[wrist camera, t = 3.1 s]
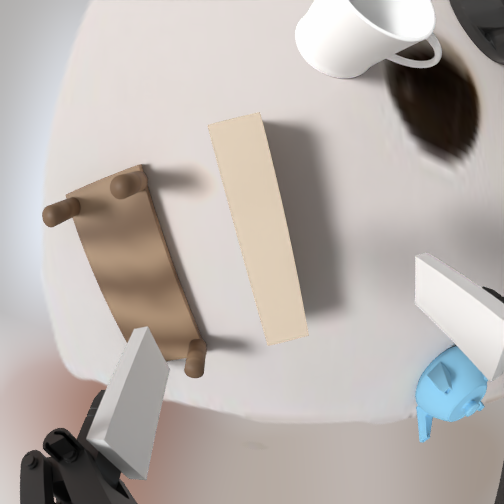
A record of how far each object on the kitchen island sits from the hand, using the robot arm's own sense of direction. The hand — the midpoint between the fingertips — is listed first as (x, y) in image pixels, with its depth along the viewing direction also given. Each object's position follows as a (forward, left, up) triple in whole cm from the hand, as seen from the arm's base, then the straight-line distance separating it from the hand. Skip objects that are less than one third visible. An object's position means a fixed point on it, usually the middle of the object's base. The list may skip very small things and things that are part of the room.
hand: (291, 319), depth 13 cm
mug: (-16, +13, -17) cm, 27 cm away
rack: (+2, -14, -17) cm, 22 cm away
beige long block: (0, 0, -17) cm, 17 cm away
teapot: (+33, +25, -17) cm, 45 cm away
